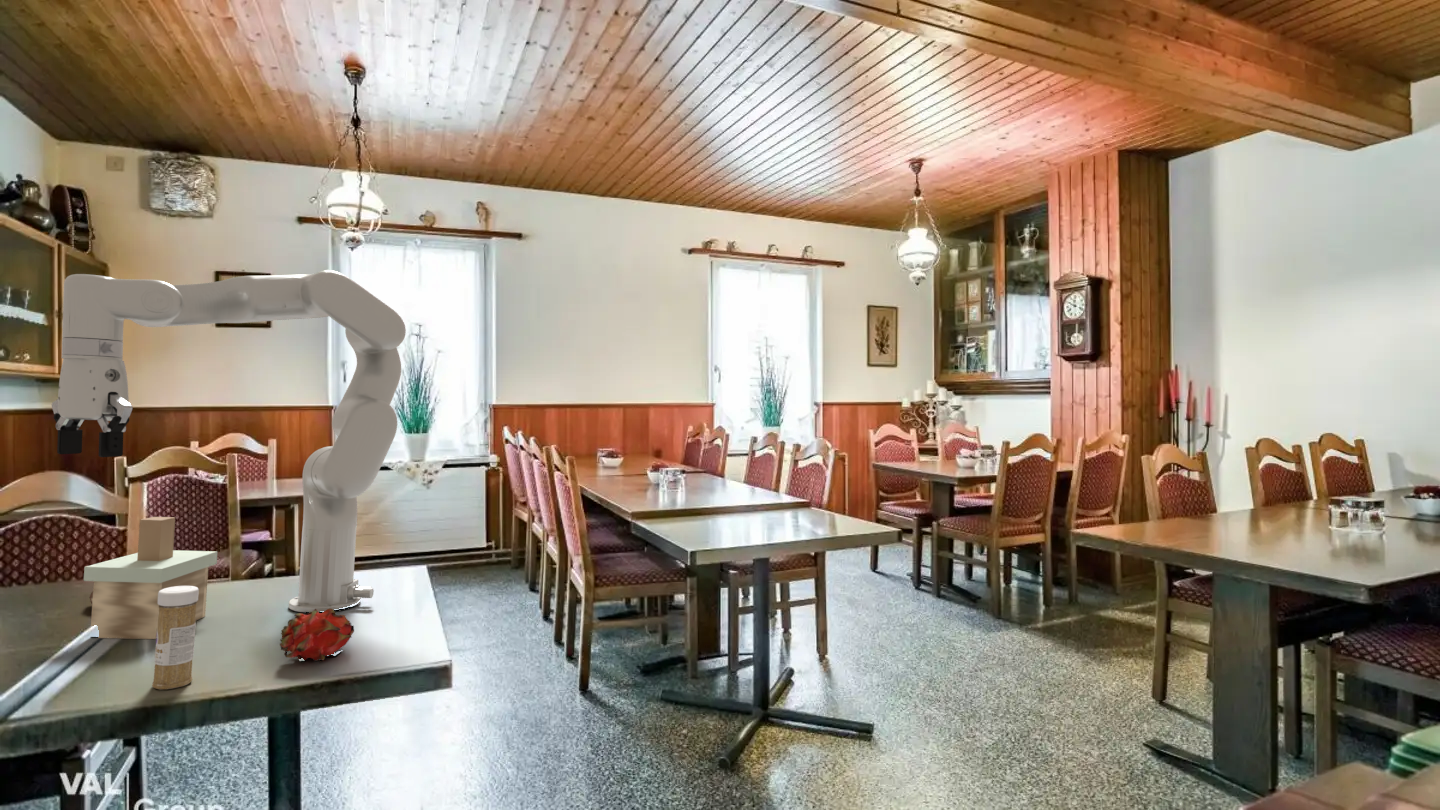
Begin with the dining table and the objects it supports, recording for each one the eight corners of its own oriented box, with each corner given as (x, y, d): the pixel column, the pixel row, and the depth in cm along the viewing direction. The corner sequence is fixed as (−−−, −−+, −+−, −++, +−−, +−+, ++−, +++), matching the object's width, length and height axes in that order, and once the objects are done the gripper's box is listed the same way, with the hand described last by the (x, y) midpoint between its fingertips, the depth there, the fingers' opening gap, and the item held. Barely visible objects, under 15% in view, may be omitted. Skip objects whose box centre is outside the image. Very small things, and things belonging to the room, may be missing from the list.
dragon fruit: (268, 679, 107) (344, 668, 117) (300, 654, 104) (375, 646, 114) (261, 625, 111) (335, 620, 121) (292, 600, 108) (364, 597, 118)
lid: (216, 563, 132) (219, 513, 132) (160, 582, 117) (164, 526, 117) (148, 562, 131) (151, 511, 131) (83, 580, 116) (87, 523, 116)
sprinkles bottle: (148, 684, 99) (154, 587, 99) (188, 676, 103) (193, 583, 103) (156, 693, 96) (162, 594, 96) (197, 685, 100) (203, 589, 100)
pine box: (205, 616, 130) (208, 556, 131) (155, 639, 117) (159, 572, 118) (147, 615, 130) (151, 555, 130) (90, 637, 116) (94, 570, 117)
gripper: (154, 353, 118) (151, 456, 118) (83, 352, 123) (80, 451, 123) (103, 349, 110) (100, 459, 110) (30, 349, 115) (26, 454, 115)
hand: (89, 455), depth 116 cm, fingers open, 9 cm apart
